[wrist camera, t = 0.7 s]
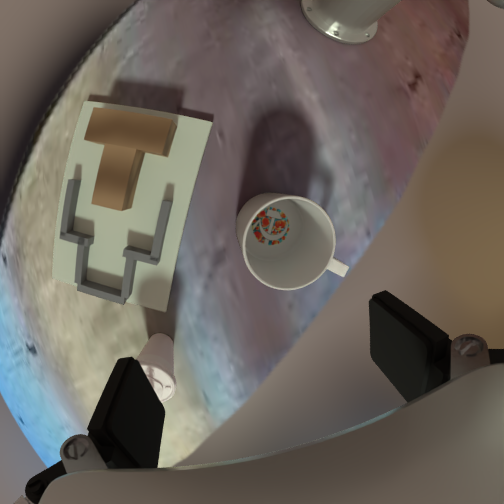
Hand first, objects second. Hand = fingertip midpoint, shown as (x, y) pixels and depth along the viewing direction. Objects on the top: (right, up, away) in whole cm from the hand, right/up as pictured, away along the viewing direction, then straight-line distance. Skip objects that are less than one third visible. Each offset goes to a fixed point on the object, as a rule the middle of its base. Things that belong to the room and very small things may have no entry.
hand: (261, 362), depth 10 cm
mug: (+3, +7, +27) cm, 28 cm away
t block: (-16, +15, +21) cm, 30 cm away
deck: (-17, +10, +23) cm, 31 cm away
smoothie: (-14, -9, +29) cm, 33 cm away
